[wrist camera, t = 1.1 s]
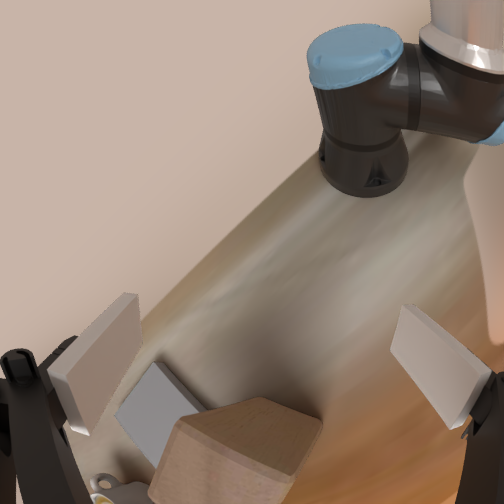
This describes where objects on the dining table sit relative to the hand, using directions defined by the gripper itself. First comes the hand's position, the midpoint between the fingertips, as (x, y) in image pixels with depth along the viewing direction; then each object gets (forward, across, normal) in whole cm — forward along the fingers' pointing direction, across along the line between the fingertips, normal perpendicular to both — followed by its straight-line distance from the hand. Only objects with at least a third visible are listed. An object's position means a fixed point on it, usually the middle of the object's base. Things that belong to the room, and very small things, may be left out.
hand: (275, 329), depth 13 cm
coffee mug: (+11, -18, -45) cm, 50 cm away
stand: (+19, -12, -29) cm, 37 cm away
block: (+14, +4, -25) cm, 29 cm away
